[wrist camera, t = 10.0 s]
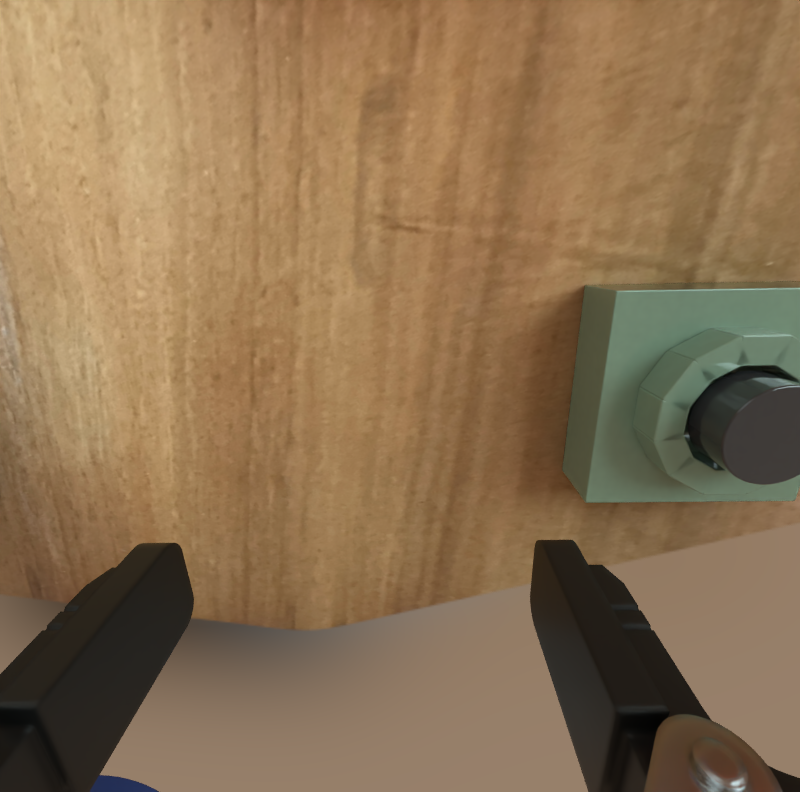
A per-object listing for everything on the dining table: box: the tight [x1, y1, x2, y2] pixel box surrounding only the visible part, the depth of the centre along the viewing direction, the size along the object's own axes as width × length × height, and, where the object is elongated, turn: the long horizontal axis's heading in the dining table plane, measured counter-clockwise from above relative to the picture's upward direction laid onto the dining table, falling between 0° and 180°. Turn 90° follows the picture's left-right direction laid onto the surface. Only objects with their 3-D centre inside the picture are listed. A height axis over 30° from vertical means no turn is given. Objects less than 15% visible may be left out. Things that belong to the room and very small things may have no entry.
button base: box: [562, 281, 800, 503], centre depth 19 cm, size 10×10×5 cm
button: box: [688, 370, 800, 485], centre depth 16 cm, size 4×4×2 cm
